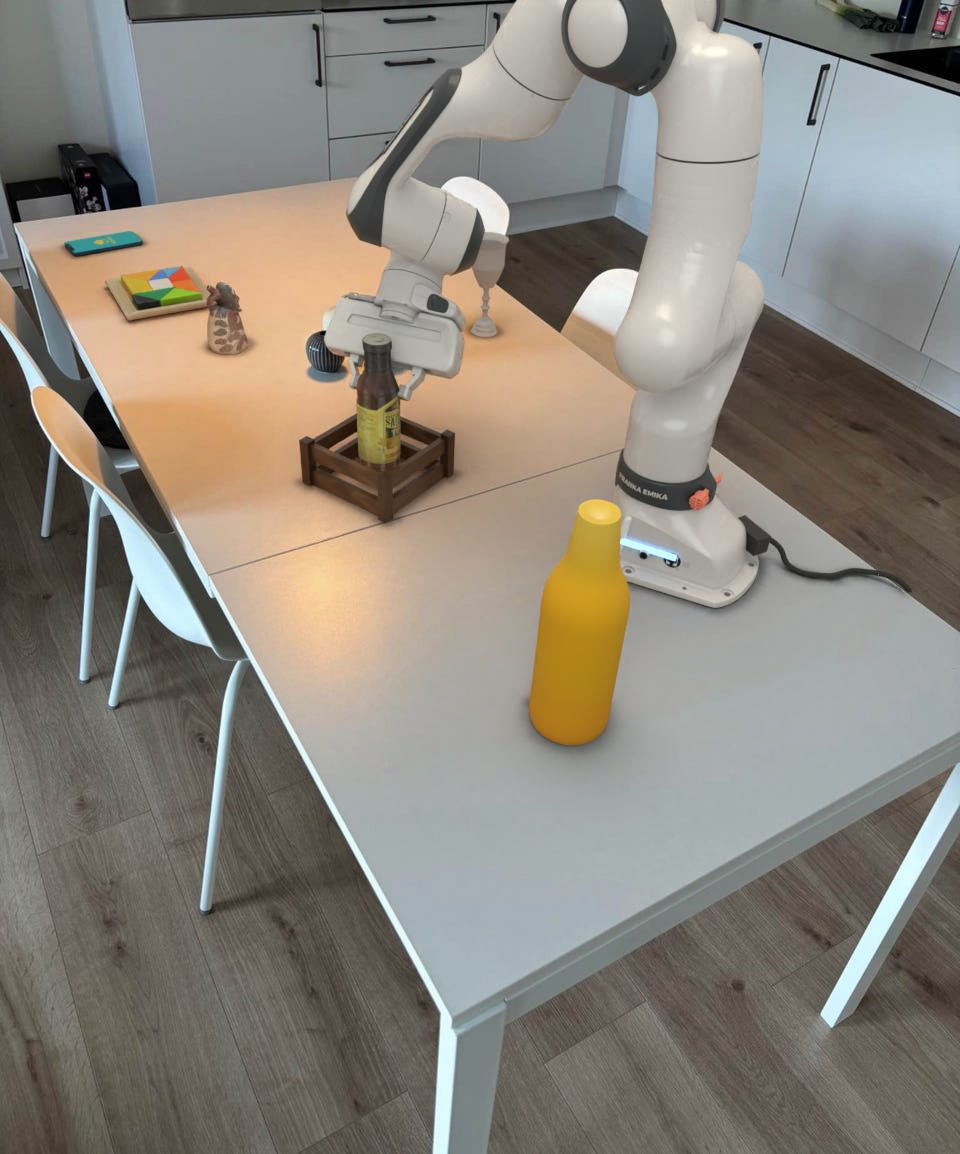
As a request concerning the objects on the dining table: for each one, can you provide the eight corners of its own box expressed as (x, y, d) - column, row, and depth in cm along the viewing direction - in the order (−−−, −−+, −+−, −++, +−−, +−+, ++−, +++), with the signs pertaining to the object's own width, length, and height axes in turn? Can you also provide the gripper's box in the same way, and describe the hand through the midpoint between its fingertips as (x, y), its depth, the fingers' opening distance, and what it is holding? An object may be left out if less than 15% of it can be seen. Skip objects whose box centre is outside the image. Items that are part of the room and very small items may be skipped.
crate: (453, 474, 149) (455, 432, 145) (386, 523, 139) (385, 479, 134) (372, 438, 156) (371, 397, 151) (302, 482, 146) (298, 440, 141)
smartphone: (143, 240, 213) (74, 252, 205) (144, 244, 213) (74, 256, 206) (131, 230, 217) (63, 241, 210) (132, 233, 218) (63, 245, 210)
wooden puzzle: (130, 324, 183) (126, 307, 181) (104, 287, 195) (101, 270, 193) (220, 308, 190) (218, 291, 188) (190, 273, 203) (187, 256, 200)
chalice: (496, 321, 192) (501, 230, 180) (507, 337, 187) (514, 244, 175) (460, 325, 190) (464, 233, 178) (471, 340, 185) (475, 247, 173)
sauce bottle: (394, 478, 143) (392, 353, 130) (353, 471, 143) (347, 347, 131) (405, 454, 148) (404, 332, 135) (366, 449, 148) (361, 327, 136)
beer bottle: (529, 747, 108) (554, 539, 90) (526, 686, 115) (548, 482, 97) (612, 749, 108) (654, 542, 90) (603, 689, 115) (641, 486, 97)
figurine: (253, 351, 177) (246, 287, 170) (214, 357, 175) (205, 293, 167) (242, 334, 182) (235, 272, 175) (204, 340, 180) (195, 277, 172)
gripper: (333, 280, 139) (305, 372, 138) (467, 306, 134) (439, 401, 133) (348, 298, 145) (322, 386, 144) (477, 324, 140) (450, 415, 139)
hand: (379, 394), depth 139 cm, fingers closed on sauce bottle, 6 cm apart
